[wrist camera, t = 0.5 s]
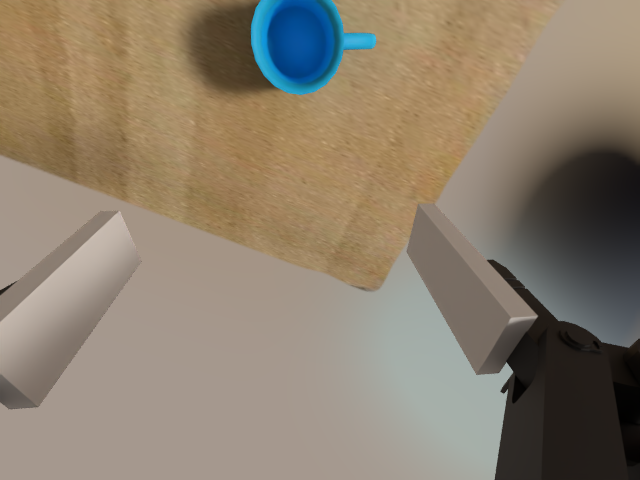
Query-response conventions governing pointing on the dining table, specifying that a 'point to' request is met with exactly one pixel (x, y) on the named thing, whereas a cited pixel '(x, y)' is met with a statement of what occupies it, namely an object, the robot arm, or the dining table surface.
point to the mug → (301, 43)
